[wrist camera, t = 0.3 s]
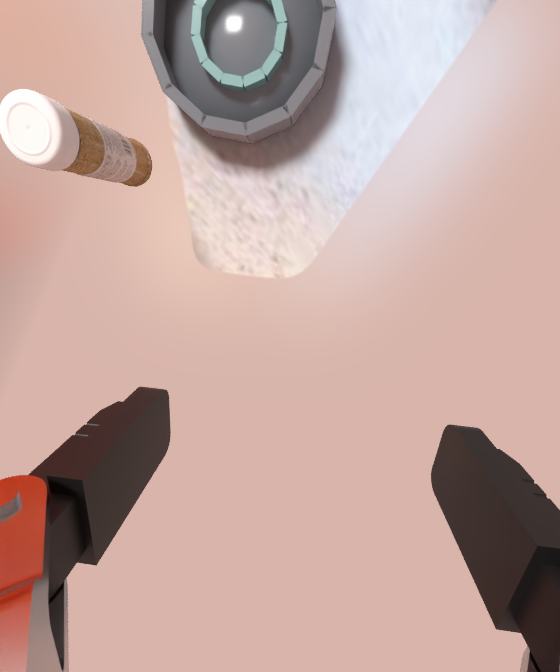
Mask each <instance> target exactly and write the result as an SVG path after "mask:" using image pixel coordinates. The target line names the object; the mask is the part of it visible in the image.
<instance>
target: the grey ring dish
mask: <svg viewBox="0 0 560 672" xmlns="http://www.w3.org/2000/svg"><path fill="white" fill-rule="evenodd" d="M335 15H336V2H335V0H142V30H141V31H142V32H141V35H142V39H143V41H144V44H145V47H146V49H147V52H148V54H149V57H150V60H151V62H152V65H153V67H154V70H155V72H156V75H157V78H158V80H159V83H160V86H161V88H162V90H163V92H164V93H165V94H166V95H167V96H168V97H169V98H170V99H171V100H172V101H174V102H175V103H176V104H177V105H178V106H179V107H180V108H181V109H182V110H183V111H184V112H185V113H186V114H187V115H188V116H190V117H191V118H192V119H193V120H194V121H195V122H196V123H197V124H198V125H199V126H200V127H201V128H203V129H204V130H205V131H206V132H207V133H208V134H209V135H211V136H216V137H221V138H226V139H231V140H236V141H241V142H246V143H255V142H257V141H259V140H262V139H264V138H266V137H269V136H271V135H273V134H276V133H278V132H280V131H283V130H285V129H287V128H290V127H292V126H293V125H294V124H295V122H296V121H297V120H298V118H299V117H300V115H301V114H302V113H303V111H304V110H305V109H306V107H307V106H308V105H309V103H310V102H311V101H312V99H313V98H314V97H315V95H316V94H317V93H318V91H319V90H320V89H321V87H322V85H323V82H324V77H325V72H326V66H327V61H328V56H329V51H330V46H331V41H332V36H333V31H334V24H335Z"/></svg>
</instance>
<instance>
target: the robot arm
mask: <svg viewBox="0 0 560 672" xmlns="http://www.w3.org/2000/svg"><path fill="white" fill-rule="evenodd" d="M169 442H170V411H169V395H168V392H167V390H164V389H156V388H148V387H139V388H137V389H136V390H135V391H134V392H133V393H132V394H131V395H130V396H129V397H128V398H127V399H126V400H125V401H124V402H119V401H118V402H116V403H114V404H112V405H110V406H108V407H106V408H104V409H102V410H100V411H99V412H98V413H97V414H96V415H95V416H93V417H92V418H91V419H90V420H89V421H88V422H87V424H86V425H84V426H82V427H81V428H80V429H79V430H78V431H77V432H76V434H75V435H72V436H71V437H70V438H69V439H68V440H67V441H66V442H64V443H63V444H62V445H61V446H60V447H59V448H58V449H57V450H55V451H54V452H53V453H52V454H51V455H50V456H49V457H48V458H47V459H45V460H44V461H43V462H42V463H41V464H40V465H39V466H38V467H36V468H35V469H34V470H33V471H32V472H31V473H30V474H29V475H19V476H12V477H8V478H4V479H1V480H0V672H69V671H68V670H69V668H68V588H67V580H66V577H67V576H68V575H69V573H70V571H71V570H72V569H73V567H74V566H75V564H76V563H77V562H78V563H84V564H91V565H97V563H98V562H99V560H100V559H101V557H102V555H103V554H104V552H105V551H106V549H107V547H108V546H109V544H110V543H111V541H112V539H113V538H114V536H115V535H116V533H117V531H118V530H119V528H120V527H121V525H122V523H123V522H124V520H125V519H126V517H127V515H128V514H129V512H130V511H131V509H132V507H133V506H134V504H135V503H136V501H137V499H138V498H139V496H140V494H141V493H142V491H143V490H144V488H145V487H146V485H147V483H148V482H149V480H150V479H151V477H152V475H153V474H154V472H155V471H156V469H157V467H158V466H159V464H160V463H161V461H162V459H163V458H164V456H165V454H166V452H167V450H168V446H169ZM431 481H432V488H433V491H434V494H435V496H436V498H437V500H438V502H439V505H440V507H441V509H442V511H443V513H444V515H445V518H446V520H447V522H448V524H449V526H450V529H451V531H452V533H453V535H454V538H455V540H456V542H457V544H458V546H459V549H460V551H461V553H462V555H463V557H464V560H465V562H466V564H467V566H468V568H469V571H470V573H471V575H472V577H473V579H474V581H475V584H476V586H477V588H478V590H479V593H480V595H481V597H482V599H483V601H484V604H485V606H486V608H487V610H488V612H489V614H490V617H491V619H492V621H493V623H494V625H495V628H496V629H498V630H505V631H511V632H518V633H521V634H522V635H523V637H524V639H525V641H526V643H527V645H528V646H527V648H526V650H525V651H524V653H523V657H522V663H521V669H520V672H560V510H559V509H558V508H557V507H556V505H555V504H554V503H553V502H552V501H551V500H550V499H548V498H547V497H546V494H545V493H544V491H542V489H541V488H540V487H539V486H538V485H537V484H534V480H533V479H532V478H531V476H530V475H529V474H528V473H527V472H526V471H525V469H524V468H523V467H522V466H521V465H520V464H519V463H518V462H516V461H515V460H514V459H512V458H511V457H509V456H508V455H507V454H505V453H504V452H503V451H501V450H500V449H496V447H495V446H494V445H493V444H492V442H491V441H490V440H489V439H488V438H487V436H486V435H485V434H484V433H483V432H482V430H480V429H479V428H474V427H465V426H457V425H447V426H446V427H445V429H444V431H443V434H442V438H441V441H440V444H439V448H438V451H437V454H436V457H435V461H434V464H433V467H432V472H431Z"/></svg>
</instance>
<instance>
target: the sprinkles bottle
mask: <svg viewBox="0 0 560 672" xmlns="http://www.w3.org/2000/svg"><path fill="white" fill-rule="evenodd" d="M0 133H1V136H2V138H3V140H4V142H5V144H6V145H7V147H8V148H9V150H10V151H11V152H12V153H13V154H14V155H15V156H16V157H17V158H18V159H19V160H21V161H22V162H24V163H26V164H28V165H30V166H34V167H37V168H41V169H46V170H51V171H59V170H63V171H68V172H73V173H76V174H78V175H82V176H87V177H92V178H97V179H102V180H106V181H111V182H119V183H123V184H125V185H128V186H139V185H142V184H143V183H145V182H146V181H147V180H148V179H149V177H150V175H151V170H152V161H151V157H150V155H149V153H148V151H147V149H146V148H145V147H144V146H143V145H142V144H141V143H140V142H138V141H136V140H135V139H132V138H127V137H125V136H124V135H123V134H121V133H119V132H117V131H115V130H113V129H111V128H109V127H107V126H105V125H103V124H100V123H98V122H96V121H94V120H92V119H90V118H88V117H86V116H83V115H80V114H77V113H75V112H72V111H70V110H68V109H66V108H65V107H63V106H62V105H61V104H60V103H58V102H57V101H55V100H53V99H51V98H49V97H47V96H44V95H42V94H40V93H37V92H35V91H32V90H27V89H20V90H15V91H13V92H11V93H9V94H8V95H7V96H6V97H5V98H4V99H3V101H2V103H1V105H0Z"/></svg>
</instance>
